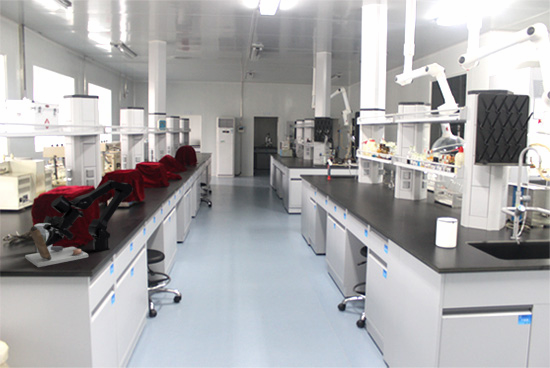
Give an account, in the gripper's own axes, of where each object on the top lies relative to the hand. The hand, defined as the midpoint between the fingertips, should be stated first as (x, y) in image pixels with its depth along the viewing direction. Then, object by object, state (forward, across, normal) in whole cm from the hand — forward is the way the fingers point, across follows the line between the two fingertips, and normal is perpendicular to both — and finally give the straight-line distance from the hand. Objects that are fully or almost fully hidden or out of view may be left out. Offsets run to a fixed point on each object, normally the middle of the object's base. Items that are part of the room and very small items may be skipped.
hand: (45, 246), depth 190 cm
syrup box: (0, -20, +11) cm, 23 cm away
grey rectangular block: (-3, -10, +10) cm, 15 cm away
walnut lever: (+4, 0, +4) cm, 5 cm away
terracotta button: (-5, +4, +13) cm, 14 cm away
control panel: (+1, -4, +10) cm, 11 cm away
